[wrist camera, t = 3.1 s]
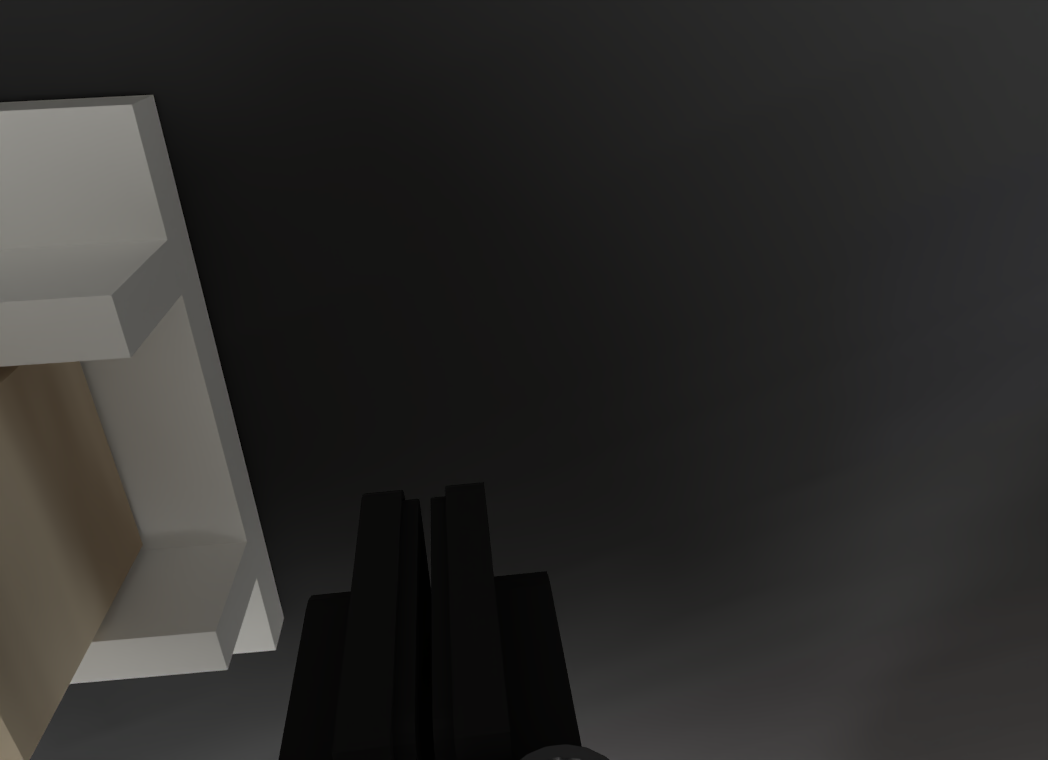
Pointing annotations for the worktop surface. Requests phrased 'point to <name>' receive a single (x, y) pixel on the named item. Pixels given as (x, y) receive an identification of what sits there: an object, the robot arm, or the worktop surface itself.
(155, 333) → the chute
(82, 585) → the block
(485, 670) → the robot arm
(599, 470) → the worktop surface
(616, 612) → the worktop surface
